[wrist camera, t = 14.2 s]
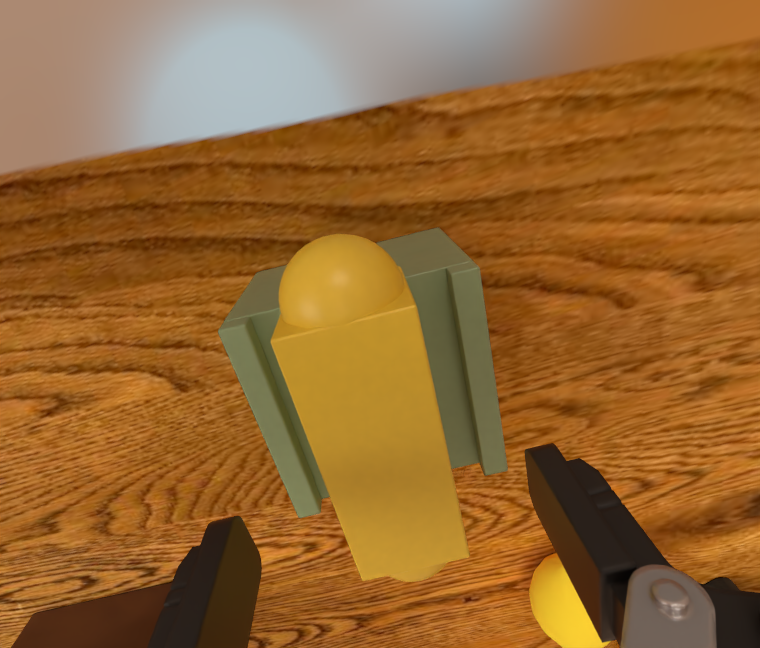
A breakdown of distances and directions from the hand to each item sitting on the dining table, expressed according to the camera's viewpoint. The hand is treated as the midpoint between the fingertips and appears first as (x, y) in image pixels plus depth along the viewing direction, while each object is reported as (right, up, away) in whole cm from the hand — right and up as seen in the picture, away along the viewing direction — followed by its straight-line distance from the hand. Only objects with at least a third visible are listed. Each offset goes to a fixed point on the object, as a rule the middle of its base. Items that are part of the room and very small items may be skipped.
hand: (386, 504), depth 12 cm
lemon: (+12, -12, +19) cm, 25 cm away
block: (-1, +5, +10) cm, 11 cm away
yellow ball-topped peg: (0, +2, +5) cm, 5 cm away
